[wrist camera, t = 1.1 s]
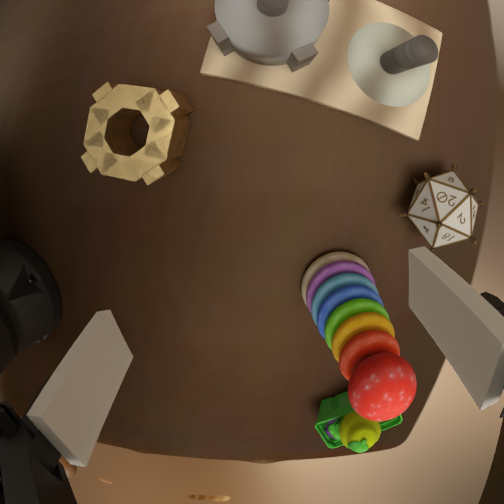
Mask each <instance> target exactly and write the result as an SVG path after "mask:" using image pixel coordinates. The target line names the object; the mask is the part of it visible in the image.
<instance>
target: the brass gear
mask: <svg viewBox="0 0 504 504" xmlns="http://www.w3.org/2000/svg"><path fill="white" fill-rule="evenodd" d="M92 95H93V97H94V99H95V100H96V103H95V104H94V105H93V106H92V107H90V111H89V117H88V122H87V127H86V133H85V139H84V146H85V148H86V149H87V152H86V153H85V154H84V155H83V156H81V158H82V160H83V162H84V163H85V165H86V167H87V168H88V170H89V172H90V173H93V172H96V171H100V173H101V174H102V175H107V176H112V177H116V178H121V179H126V180H130V181H137V180H140V179H142V178H143V179H144V181H145V182H146V184H147V186H148V185H149V184H151V183H153V182H155V181H157V180H159V179H160V178H162V177H164V176H166V175H168V174H169V173H171V172H172V171H174V170H175V169H177V168H178V167H180V166H181V164H180V163H179V161H178V159H177V158H178V157H179V156H181V155H182V154H183V151H184V147H185V143H186V138H187V134H188V130H189V126H190V120H189V119H188V117H187V115H188V114H190V113H191V112H193V111H194V109H193V108H192V106H191V104H190V103H189V101H188V100H187V98H186V97H185V96H184V95H182V94H179V93H177V92H174V91H172V90H169V89H168V90H166V91H165V92H164V91H161V90H158V89H155V88H149V87H141V86H133V85H125V84H115V83H111V82H107V83H105V84H104V85H103V86H102V87H101V88H99V89H98V90H97V91H96V92H95V93H93V94H92ZM140 114H143V116H144V118H145V119H146V121H147V122H148V124H149V126H150V127H149V132H148V136H147V141H146V146H144V147H143V148H142V149H139V148H137V146H136V144H135V143H134V141H133V139H132V138H131V136H130V133H131V128H132V123H133V119H135V118H136V117H138V116H139V115H140Z"/></svg>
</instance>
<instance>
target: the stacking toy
mask: <svg viewBox="0 0 504 504" xmlns="http://www.w3.org/2000/svg"><path fill="white" fill-rule="evenodd" d="M301 292H302V297H303V300H304V302H305V304H306V306H307V307H308V309H309V311H310V313H311V314H312V318H313V320H314V322H315V324H316V325H317V327H318V330H319V332H320V334H321V335H322V337H323V338H324V339H325V340H326V343H327V345H328V346H329V348H330V349H331V350H332V353H333V355H334V357H335V359H336V360H337V361H338V362H339V368H340V371H341V373H342V375H343V376H344V377H345V378H346V379H347V380H349V384H348V397H349V401H350V403H351V405H352V407H353V409H354V410H355V411H356V412H357V413H358V414H359V415H360V416H362V417H364V418H366V419H368V420H372V421H387V420H390V419H393V418H395V417H397V416H399V415H400V414H402V413H403V412H404V411H405V410H406V409H407V408H408V407H409V405H410V404H411V402H412V401H413V399H414V396H415V393H416V387H417V383H416V376H415V373H414V370H413V369H412V367H411V366H410V364H409V363H408V362H407V361H406V360H405V359H403V358H402V357H400V349H399V345H398V342H397V341H396V339H395V338H394V337H395V333H394V328H393V325H392V324H391V322H390V321H389V316H388V313H387V312H386V310H385V308H384V306H383V302H382V300H381V298H380V296H379V293H378V290H377V288H376V284H375V280H374V278H373V276H372V274H371V272H370V270H369V268H368V266H367V265H366V263H365V262H364V261H363V260H362V259H361V258H359V257H358V256H356V255H354V254H351V253H347V252H332V253H328V254H326V255H323V256H321V257H320V258H318V259H317V260H315V261H314V262H313V263H312V264H311V265H310V266H309V268H308V269H307V271H306V272H305V274H304V277H303V280H302V286H301Z"/></svg>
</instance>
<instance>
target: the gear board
mask: <svg viewBox="0 0 504 504" xmlns="http://www.w3.org/2000/svg"><path fill="white" fill-rule="evenodd" d="M215 14H216V21H215V22H214V23H212V24H210V25H208V26H207V29H208V31H209V32H210V34H211V37H210V40H209V44H208V47H207V50H206V53H205V57H204V60H203V64H202V67H201V71H200V73H201V74H202V75H204V76H209V77H215V78H220V79H225V80H229V81H234V82H239V83H243V84H247V85H252V86H256V87H260V88H264V89H268V90H272V91H276V92H279V93H283V94H287V95H290V96H294V97H297V98H300V99H304V100H307V101H310V102H314V103H317V104H320V105H323V106H326V107H329V108H332V109H335V110H338V111H341V112H344V113H347V114H349V115H352V116H355V117H358V118H360V119H363V120H366V121H368V122H371V123H373V124H376V125H378V126H381V127H383V128H386V129H388V130H391V131H393V132H395V133H398V134H400V135H403V136H405V137H407V138H409V139H412V140H418V141H419V137H420V133H421V130H422V126H423V122H424V118H425V114H426V111H427V107H428V102H429V98H430V94H431V90H432V85H433V81H434V76H435V71H436V66H437V61H438V56H439V51H440V45H441V39H442V33H441V32H439V31H438V30H436V29H434V28H432V27H430V26H428V25H427V24H425V23H423V22H421V21H419V20H417V19H415V18H413V17H411V16H409V15H407V14H405V13H403V12H401V11H399V10H396V9H394V8H392V7H390V6H387V5H385V4H383V3H381V2H378V1H376V0H215Z"/></svg>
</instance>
